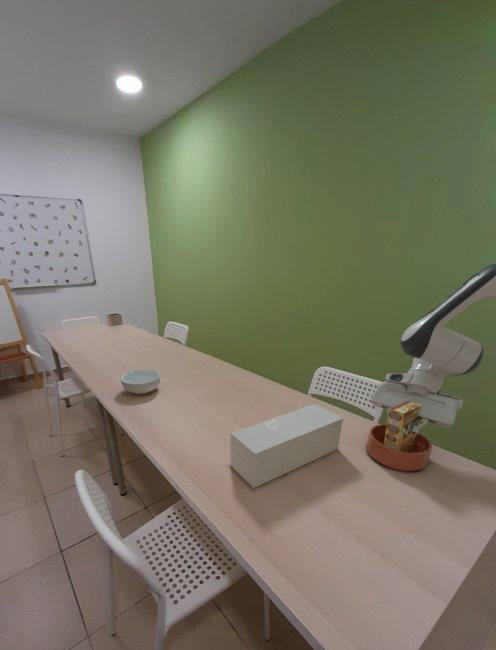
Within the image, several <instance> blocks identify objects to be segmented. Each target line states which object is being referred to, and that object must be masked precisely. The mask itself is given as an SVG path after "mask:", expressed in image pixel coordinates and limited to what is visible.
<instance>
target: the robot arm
mask: <svg viewBox="0 0 496 650" xmlns="http://www.w3.org/2000/svg"><path fill="white" fill-rule="evenodd" d="M493 297H495V298H496V263H490V264H488V265H487V266H485V267H483V268H482V269H480V270H478V271H477V272H475V273H474V274H473V275H472V276H471V277H469V278H467V280H465V281H464V282H463V283H461V285H459V286H458V287H457V288H455V290H454V291H452V292H451V293H450V294H449V295H448V296H445V298H444V299H442V301H440V302H439V303H438V304H436V305H435V307H433V308H432V309H431V310H430V311H428V312H426V314H424V315H423V316H421V317H420V318H419V319H417V320H416V321H414V322H413V323H412V324H411V325H409V326H408V327H407V328H406V329H405V330H404V332H403V333H402V335H401V337H400V339H399V340H400V346H401V349H402V351H403V353H404V354H405V355H407V356H410V357H412V358H413V359H412V364H411V367H410V368H409V369H408V370H407V372H401V373H387V374H386V375H385V377H384V381H382V382H381V383H379V385H377V387H376V388H375V390H374V391H373V393H372V395H371V397H370V401H371V404H372V405H373V407H377V408H378V409H379V408H380V409H383V410H385V411H386V413H387V416H388V415H389V409H390V408H392V407H395V406H397V405H399V404H402V403H404V402H406V401H408V402H413V403H417V404H420V405H422V407H421V409H420V410H419V412H418V414H417V416H419V417H420V418H419V421H420V422H421V423H420V424H418V426H413V429H412V431H411V433H413V434H416V435H418V433H420V431H421V430H423V429H424V428H426V427H428V425H429V424H431V425H435V426H438V427H442V428H444V429H450V428H452V427H453V426H454V424H455V420H456V417H457V412H460V411H462V409H463V408H464V407H463V406H464V404H465V402H464V400H463V398H461V397H460V396H459V395H458V394H451V393H448V392H444V391H441V387H442V385H443V384H444V379H445V377H457V376H463V375H468V374H470V373H473V372H475V371H476V369H477V368H478V367H479V366H480V364H481V363H482V360H483V358H484V347H483V345H482V343H479V342H478V341H476V340H474V339H472V338H470V337H467V336H465V335H463V334H460V333H458V332H456V331H454V330H452V329H449V328H448V327H445V325H446V324H447V323H449V322H450V321H451V320H453V318H455V317H456V316H457V315H459V314H460V313H461V312H463V311H464V310H465V309H467V308H468V307H469V306H470V305H471V304H474V303H475V302H477V301H479V300H482V299H485V298H493ZM387 421H388V419H387V420H386V423H385V424H387Z"/></svg>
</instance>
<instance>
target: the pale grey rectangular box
mask: <svg viewBox="0 0 496 650" xmlns="http://www.w3.org/2000/svg"><path fill="white" fill-rule="evenodd" d="M343 421H344V418H343V417H342V416H339V415H337V414H335V413H333V412H331V411H330V410H327V409H325V408H324V407H321V406H319V405H317V404H315V403H313V404H310V405H308V406H305V407H302V408H299V409H296V410H293V411H290V412H288V413H284V414H282V415H279V416H276V417H272V418H270V419H267V420H265V421H261V422H259V423H256V424H252V425H250V426H247V427H244V428H242V429H239V430H236V431H233V432H230V449H229V450H230V453H229V454H230V457H229V458H230V460H229V461H230V462H229V463H230V466H231V468H232V469H234V470H235V471H236V472H237V474H239V476H241V477H242V479H244V480H245V481H246V482H247V483H248V484H249V485H250V486H251V487H252V489H255V488H257V487H260V486H261V485H264V484H265V483H267V482H270V481H272V480H274V479H277V478H278V477H280V476H282V475H285V474H287V473H289V472H292V471H294V470H296V469H298V468H300V467H302V466H304V465H306V464H309V463H311V462H313V461H315V460H317V459H319V458H322V457H324V456H326V455H328V454H330V453H332V452H334V451H337V450H339V445H340V439H341V434H342V433H341V432H342V429H343Z"/></svg>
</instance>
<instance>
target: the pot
mask: <svg viewBox="0 0 496 650" xmlns="http://www.w3.org/2000/svg"><path fill="white" fill-rule="evenodd" d="M386 427H387V424H386V423H379V424H376V425H373V426H372V427H371V428H370V429H369V432H368V437H367V441H366V447H365V449H366V451H367V453H368V455H369V456H371V458H372V459H373V460H375V461H376V462H377V463H379V464H381V465H382V466H385V467H388V468H390V469H393V470H397V471H403V472H415V471H421V470H423V469H424V468H426V466H427V464H428V462H429V459H430V457H431V453H432V449H433V444H432V441H431V440H430V439H429V438H428V437H427V436H426V435H424V434H423V433H422V432H419V433H418V435H416V437H415V442H414V446H413V451H412V453H407V452H402V451H397V450H394V449H391V448H389V447H386V446H385V445H384V439H385V433H386Z"/></svg>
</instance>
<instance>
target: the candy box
mask: <svg viewBox="0 0 496 650" xmlns="http://www.w3.org/2000/svg"><path fill="white" fill-rule="evenodd" d="M421 407H422V405H420V404H417V403H413V402H408V401H406V402H404V403H402V404H399V405H397V406H395V407H392V408H390V409H389V415H388V414H387V420H388V421H387V420H386V423H387V427H386V433H385V439H384V445H385V446H386V447H389V448H391V449H394V450H397V451H402V452H407V453H412V451H413V446H414V442H415V437H416V434H413V433H411V431H412V429H413V426H419V422H420V420H419V418H420V417H419V416H417V414H418V412H419V410H420V409H421Z"/></svg>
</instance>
